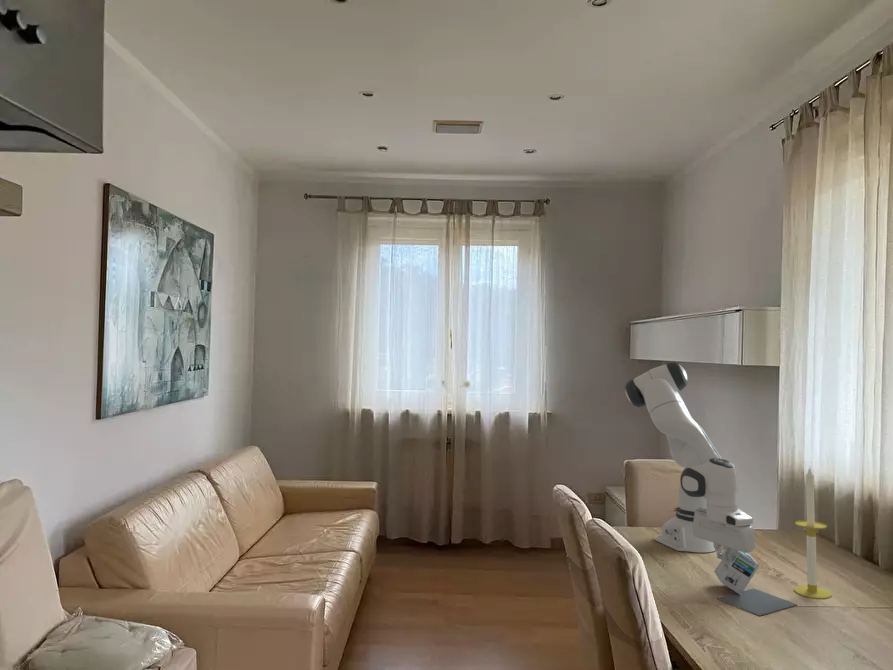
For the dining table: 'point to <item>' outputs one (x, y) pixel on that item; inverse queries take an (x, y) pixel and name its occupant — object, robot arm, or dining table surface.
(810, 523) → the candle
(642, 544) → the dining table surface
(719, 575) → the light bulb box
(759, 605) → the mat
